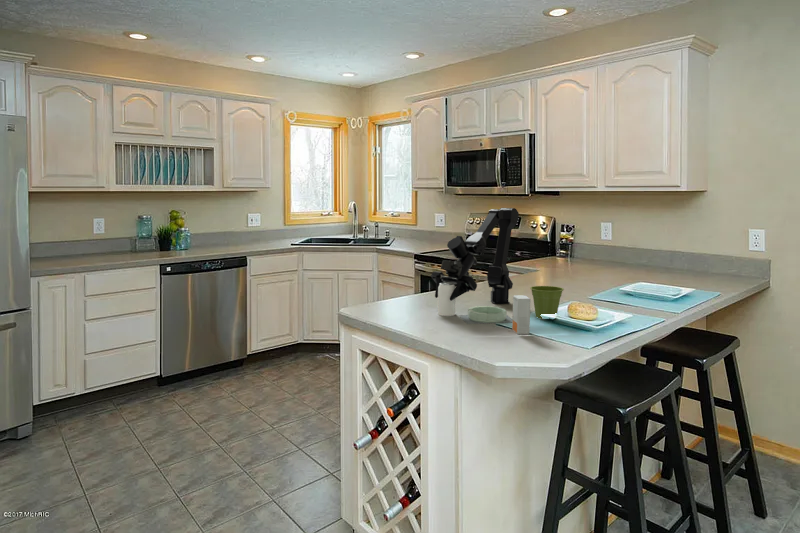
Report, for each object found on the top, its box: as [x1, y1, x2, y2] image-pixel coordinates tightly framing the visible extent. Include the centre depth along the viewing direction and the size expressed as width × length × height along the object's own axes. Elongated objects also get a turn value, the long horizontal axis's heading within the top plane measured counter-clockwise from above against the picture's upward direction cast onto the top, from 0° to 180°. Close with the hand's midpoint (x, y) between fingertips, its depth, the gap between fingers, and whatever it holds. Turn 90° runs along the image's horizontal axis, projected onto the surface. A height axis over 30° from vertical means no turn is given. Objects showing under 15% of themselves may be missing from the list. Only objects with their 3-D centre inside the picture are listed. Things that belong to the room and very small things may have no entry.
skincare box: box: [511, 294, 532, 336], centre depth 181 cm, size 6×4×12 cm
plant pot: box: [529, 285, 565, 320], centre depth 201 cm, size 12×12×11 cm
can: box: [437, 282, 456, 317], centre depth 206 cm, size 6×6×12 cm
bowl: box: [467, 305, 507, 324], centre depth 199 cm, size 13×13×3 cm
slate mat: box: [458, 314, 513, 325], centre depth 199 cm, size 18×14×1 cm
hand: (442, 298), depth 204 cm, fingers open, 7 cm apart
